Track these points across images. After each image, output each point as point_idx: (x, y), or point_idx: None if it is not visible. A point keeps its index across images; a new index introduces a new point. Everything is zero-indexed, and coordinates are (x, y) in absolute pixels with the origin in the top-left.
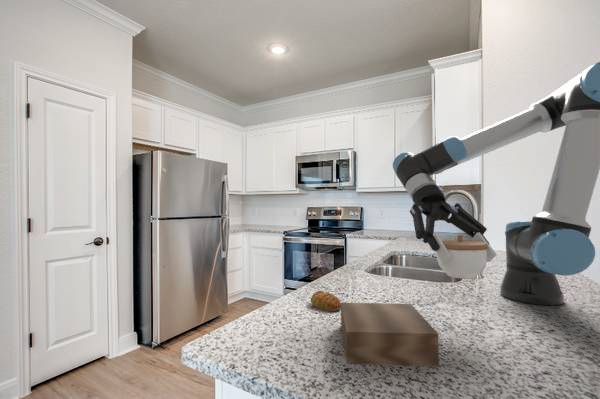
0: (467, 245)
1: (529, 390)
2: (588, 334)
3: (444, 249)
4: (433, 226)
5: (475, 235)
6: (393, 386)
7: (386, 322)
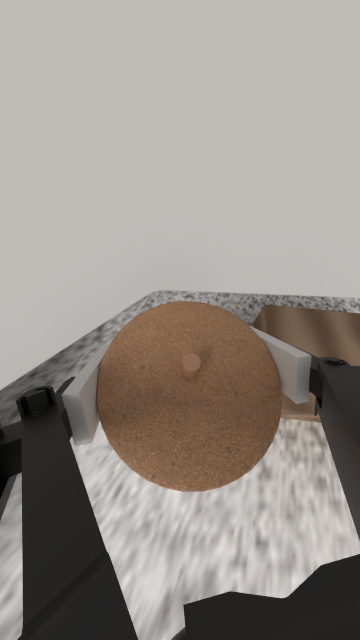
0: (207, 304)
1: (197, 294)
2: (23, 380)
3: (263, 332)
4: (337, 388)
5: (84, 406)
6: (296, 301)
7: (322, 333)
